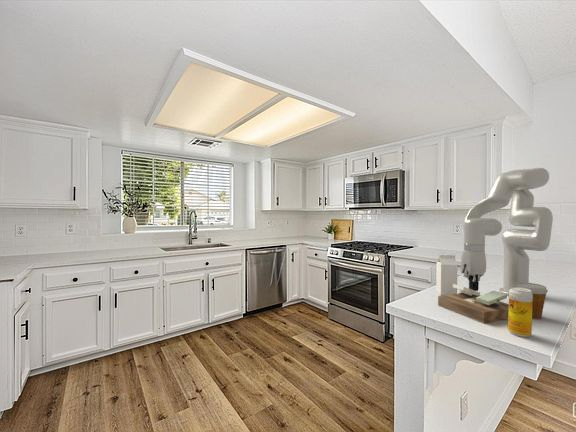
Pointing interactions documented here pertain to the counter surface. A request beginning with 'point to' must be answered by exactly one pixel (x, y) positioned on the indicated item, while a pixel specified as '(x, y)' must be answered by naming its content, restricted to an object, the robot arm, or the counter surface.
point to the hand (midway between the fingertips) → (473, 289)
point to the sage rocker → (491, 297)
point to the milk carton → (446, 274)
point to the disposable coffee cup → (536, 297)
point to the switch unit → (474, 307)
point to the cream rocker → (466, 290)
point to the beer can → (520, 311)
